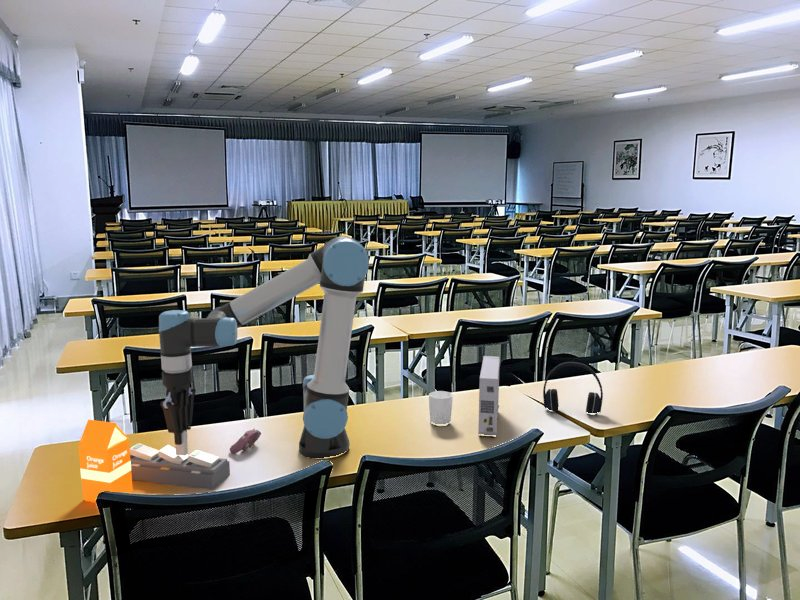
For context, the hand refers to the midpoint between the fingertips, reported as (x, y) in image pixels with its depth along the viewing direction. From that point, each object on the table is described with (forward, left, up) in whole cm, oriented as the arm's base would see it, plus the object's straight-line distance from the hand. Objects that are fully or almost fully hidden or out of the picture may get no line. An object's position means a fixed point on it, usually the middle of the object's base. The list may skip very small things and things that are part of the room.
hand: (181, 454), depth 170 cm
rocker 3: (-6, 0, -1) cm, 6 cm away
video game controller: (-7, -22, -7) cm, 24 cm away
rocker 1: (+12, 0, -1) cm, 12 cm away
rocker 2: (+3, 0, -1) cm, 3 cm away
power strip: (+3, 0, -7) cm, 7 cm away
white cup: (-60, -57, -7) cm, 83 cm away
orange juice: (+13, +14, -7) cm, 20 cm away
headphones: (-103, -78, -7) cm, 130 cm away
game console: (-76, -60, -7) cm, 97 cm away
